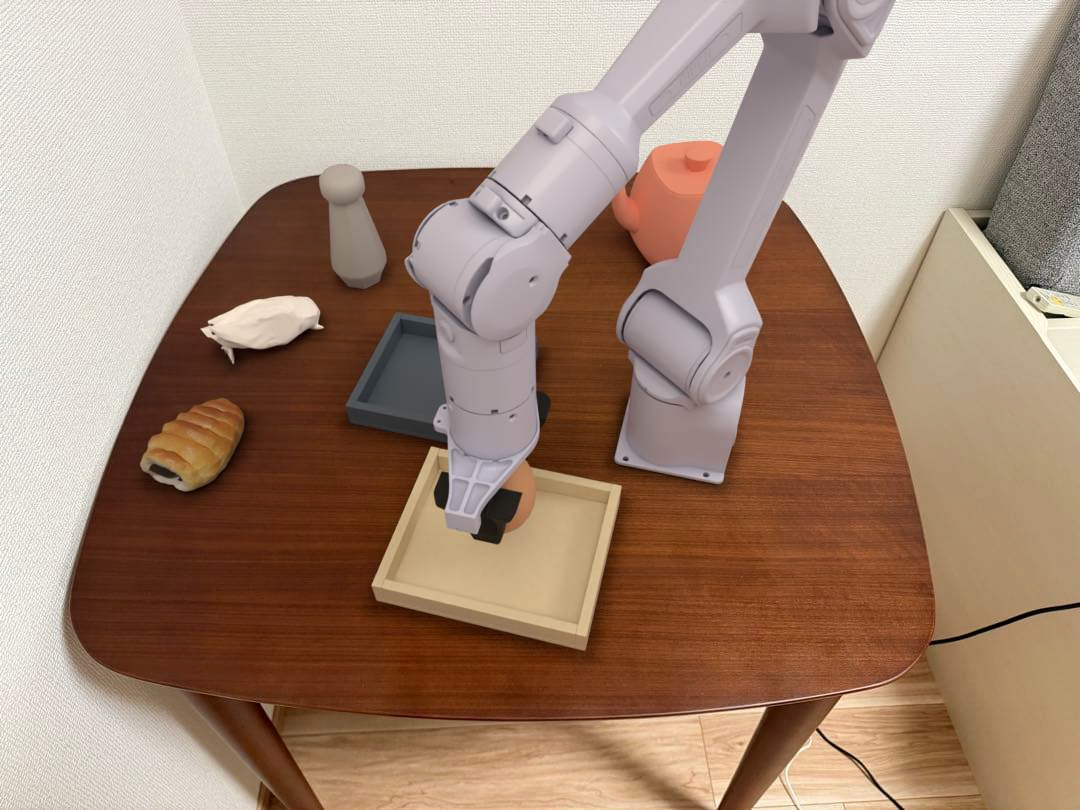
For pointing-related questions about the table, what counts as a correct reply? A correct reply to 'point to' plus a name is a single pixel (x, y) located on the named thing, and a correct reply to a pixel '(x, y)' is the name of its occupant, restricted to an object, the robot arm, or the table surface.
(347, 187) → the salt shaker
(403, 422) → the slate tray
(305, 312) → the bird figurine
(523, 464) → the egg
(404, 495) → the table surface
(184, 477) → the pastry
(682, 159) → the teapot
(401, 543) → the ivory tray
